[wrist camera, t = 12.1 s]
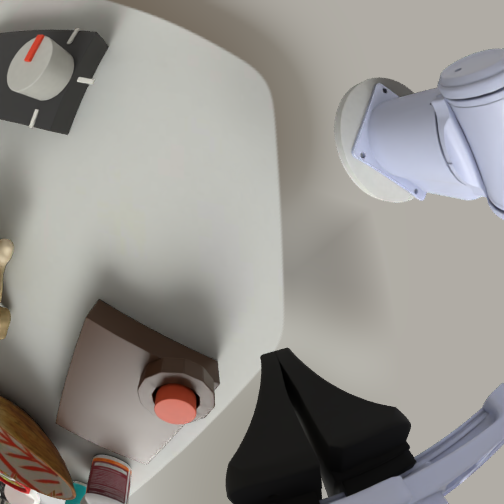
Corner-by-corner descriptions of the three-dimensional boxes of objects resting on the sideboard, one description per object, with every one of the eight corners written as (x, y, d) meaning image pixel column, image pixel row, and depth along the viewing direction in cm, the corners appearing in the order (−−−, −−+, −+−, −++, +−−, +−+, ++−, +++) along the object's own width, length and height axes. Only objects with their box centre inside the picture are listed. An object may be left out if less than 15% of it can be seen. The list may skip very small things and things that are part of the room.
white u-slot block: (34, 485, 30) (26, 511, 20) (40, 499, 33) (35, 522, 23) (4, 467, 27) (-5, 492, 18) (15, 485, 31) (8, 506, 21)
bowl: (45, 469, 27) (37, 497, 20) (-48, 378, 19) (-66, 403, 12) (116, 458, 27) (110, 501, 19) (-17, 330, 19) (-50, 366, 11)
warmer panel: (130, 48, 15) (120, 32, 12) (87, 141, 17) (69, 138, 14) (-9, 42, 10) (-24, 35, 7) (-38, 112, 12) (-56, 110, 9)
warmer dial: (60, 103, 13) (31, 93, 10) (24, 97, 12) (-4, 89, 9) (83, 53, 12) (61, 33, 9) (46, 50, 11) (22, 34, 8)
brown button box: (224, 353, 24) (229, 391, 19) (149, 445, 27) (146, 476, 22) (103, 289, 20) (81, 318, 16) (63, 405, 23) (50, 433, 18)
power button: (203, 392, 19) (203, 408, 18) (185, 413, 20) (185, 429, 18) (166, 377, 18) (164, 392, 17) (150, 399, 19) (148, 415, 17)
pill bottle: (86, 451, 26) (72, 508, 16) (120, 454, 27) (111, 516, 16) (106, 471, 28) (98, 523, 18) (138, 473, 29) (134, 530, 18)
